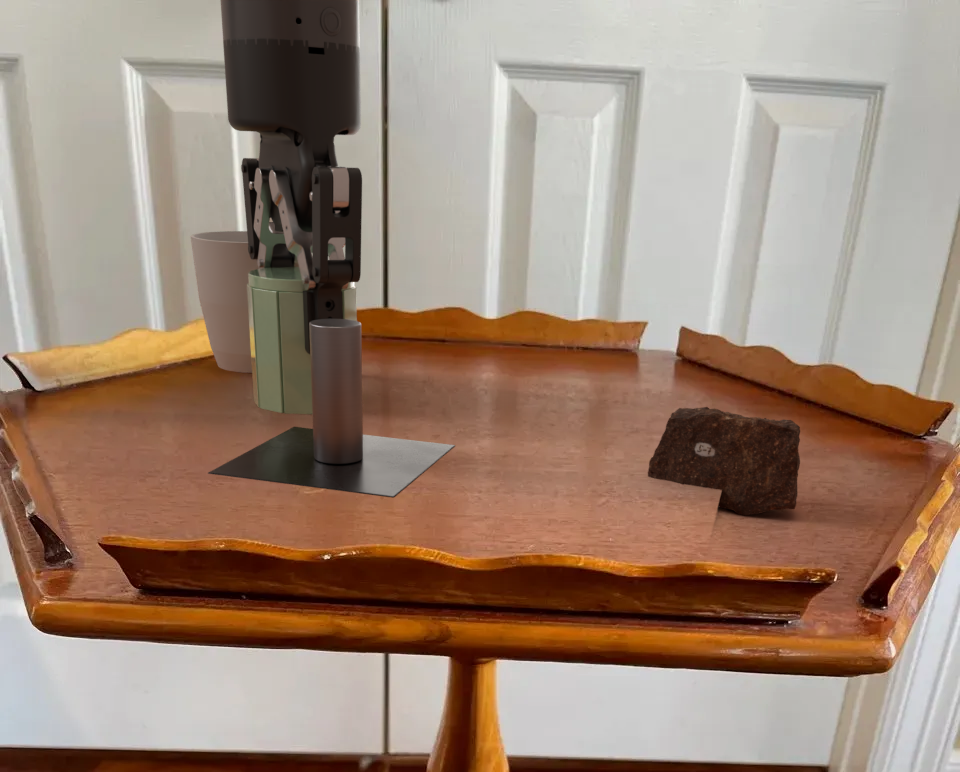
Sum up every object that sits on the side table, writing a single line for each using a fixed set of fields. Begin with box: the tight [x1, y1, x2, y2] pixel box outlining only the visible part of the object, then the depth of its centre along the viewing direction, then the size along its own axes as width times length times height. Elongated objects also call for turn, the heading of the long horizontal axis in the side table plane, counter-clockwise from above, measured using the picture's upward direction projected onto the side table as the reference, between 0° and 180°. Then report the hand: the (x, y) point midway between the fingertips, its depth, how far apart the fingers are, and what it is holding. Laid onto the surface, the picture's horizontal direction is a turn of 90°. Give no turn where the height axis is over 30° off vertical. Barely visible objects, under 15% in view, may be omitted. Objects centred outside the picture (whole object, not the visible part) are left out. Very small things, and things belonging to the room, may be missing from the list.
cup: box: [189, 230, 259, 374], centre depth 74 cm, size 8×8×10 cm
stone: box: [647, 406, 801, 516], centre depth 53 cm, size 8×3×5 cm, turn 65°
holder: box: [207, 319, 456, 498], centre depth 53 cm, size 10×10×8 cm
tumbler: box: [247, 267, 358, 415], centre depth 64 cm, size 6×7×9 cm
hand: (303, 344), depth 64 cm, fingers closed on tumbler, 6 cm apart
